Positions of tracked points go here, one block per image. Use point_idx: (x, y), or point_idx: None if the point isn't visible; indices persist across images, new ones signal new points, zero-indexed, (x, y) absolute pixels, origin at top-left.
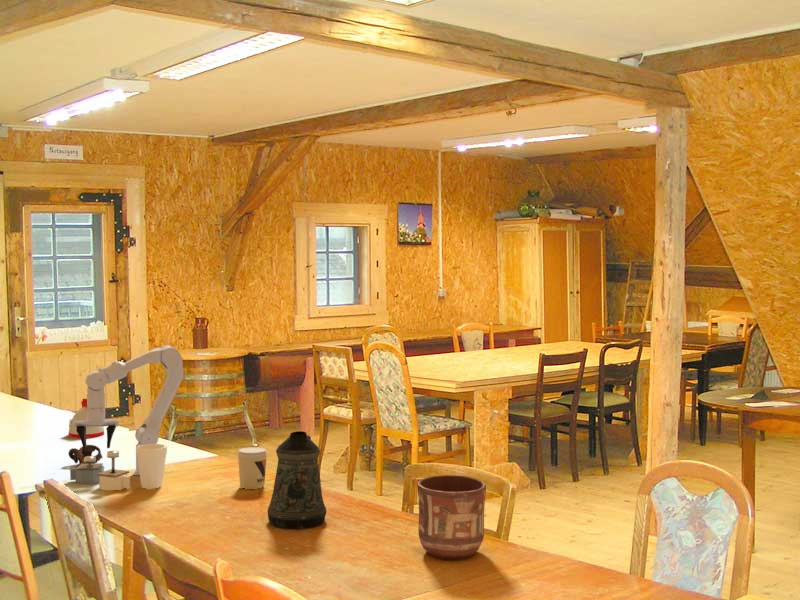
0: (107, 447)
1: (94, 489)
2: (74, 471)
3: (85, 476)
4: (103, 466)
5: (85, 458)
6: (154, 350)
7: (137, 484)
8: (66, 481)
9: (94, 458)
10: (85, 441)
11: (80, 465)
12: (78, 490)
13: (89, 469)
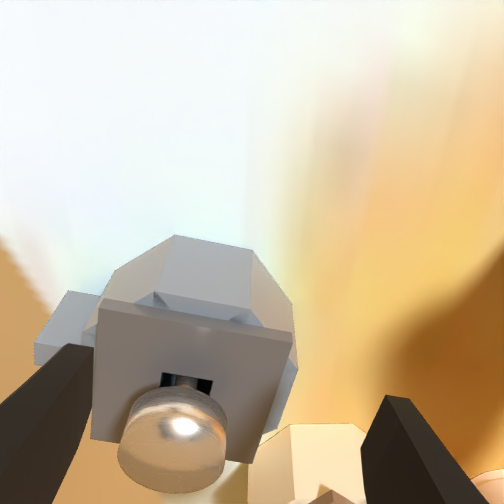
0: (366, 459)
1: (225, 471)
2: None
3: None
4: (293, 374)
5: (135, 478)
6: None
7: (453, 448)
8: (42, 283)
9: (215, 473)
10: (49, 450)
11: (104, 363)
12: None
13: None
